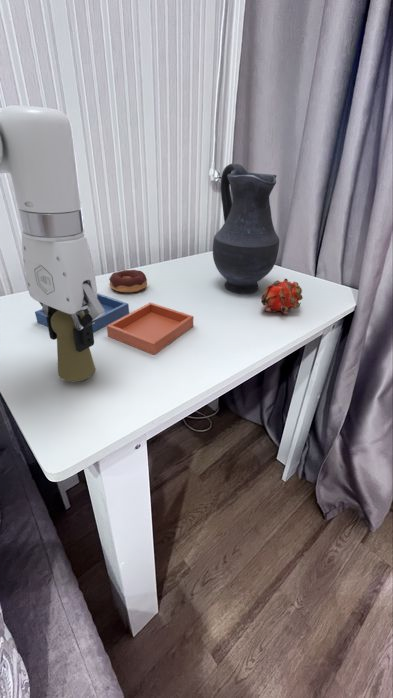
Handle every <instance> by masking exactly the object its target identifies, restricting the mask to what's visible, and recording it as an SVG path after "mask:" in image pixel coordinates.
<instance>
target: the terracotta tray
mask: <svg viewBox="0 0 393 698" xmlns="http://www.w3.org/2000/svg"><path fill="white" fill-rule="evenodd" d="M194 317H195V316H194V315H190V314H187V313H185V312H181V311H179V310H174V309H172V308H169V307H166V306H162V305H159V304H157V303H154V302H148V303H146V304H145V305H143V306H141V307H139V308H137V309H135V310H133V311H131V312H129V314H127V315H125V316H123V317H121V318H119V319H118V320H116V321H114V322H112V323H110V324H108V325H106V333H107V337H108V338H111V339H114V340H115V341H119V342H121V343H124V344H126V345H128V346H131V347H133V348H136V349H138V350H140V351H142V352H145V353H148V354H150V355H153V356H155V355H157V354H158V353H159V352H160V351H162V350H163V349H164V348H166V347H167V346H169V345H170V344H171V343H172V342H174V341H175V340H177V339H178V338H179V337H181V336H182V335H184V334H185V333H186V332H187V331H189V330H190V329H192V328H193V327H194Z"/></svg>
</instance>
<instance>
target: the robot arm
mask: <svg viewBox="0 0 393 698" xmlns="http://www.w3.org/2000/svg"><path fill="white" fill-rule="evenodd" d="M72 125H73V124H72V122H71V120H70V118H69V116H68V115H67V114H66V113H64V112H63V111H61V110H59V109H56V108H50V107H44V106H35V105H34V106H32V105H19V104H12V105H7V106H4V107H0V174H10V177H11V181H12V187H13V191H14V196H15V201H16V205H17V208H18V209H17V210H18V214H19V220H20V224H21V228H22V231H21V253H22V261H23V267H24V275H25V280H26V285H27V290H28V294H29V296H30V297H31V298H32V300H35V301H36V302H38V303H39V304H40V306H41V307H42V308H41V309H42V312H43V314H44V315H45V316H48V317H46V320H47V325H48V327H47V329H48V334H49V338H50V339H51V340H53V341H54V340H57V334H56V333H55V332H54V331H53V329H52V326H51V318H52V316H53V314H54V313H55V312H56V311H58V310H60V311H62V312H65V313H68V314H71V316H72V319H73V321H74V324H75V327H76V328H74V329H73V334H74V341H75V347H76V351H78V352H81V351H83V350H85V349H87V348H91V347H93V346H94V345H95V337H94V332H93V327H92V324H94V323H95V321H96V320H97V319H98V318H99V317H100V316H102V315H103V314H104V313H105V310H104V308H103V307H102V305H101V303H100V302H99V300H98V298H97V293H98V287H97V280H96V273H95V268H94V263H93V258H92V254H91V253H92V252H91V250H90V245H89V242H88V238H87V236H85V227H84V226H85V225H84V218H83V217H84V216H83V209H82V202H81V190H80V182H79V173H78V164H77V156H76V155H77V154H76V149H75V147H76V146H75V139H74V131H73V126H72ZM80 311H84V314H85V315H84V317H83V318H82V319H81V318H80V315H79V312H80Z"/></svg>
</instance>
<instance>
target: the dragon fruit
mask: <svg viewBox="0 0 393 698" xmlns="http://www.w3.org/2000/svg"><path fill="white" fill-rule="evenodd" d="M302 294H303V289H302V287H301V286H300V285H299V283H298V282H297V281H293V282H291V281H289V280H288V278H284V280H283V281H280V280H275V281H274V282H273V283H272V284H270V285H267V286H266V287H265V289H264V293H263V295H261V297H260V300H261V301H260V302H261V304H262V306H264V307H265V306H266V307H265V308H264V312H269V313H275V312H282V315H286V314H289V313H290V311H291V309H292V308H293V309H298V308H300V306H301V303H302V302H300V301H302V300H303V298H304V297H303V295H302Z"/></svg>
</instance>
